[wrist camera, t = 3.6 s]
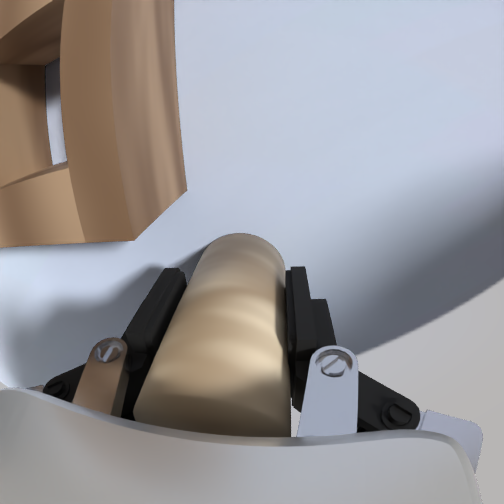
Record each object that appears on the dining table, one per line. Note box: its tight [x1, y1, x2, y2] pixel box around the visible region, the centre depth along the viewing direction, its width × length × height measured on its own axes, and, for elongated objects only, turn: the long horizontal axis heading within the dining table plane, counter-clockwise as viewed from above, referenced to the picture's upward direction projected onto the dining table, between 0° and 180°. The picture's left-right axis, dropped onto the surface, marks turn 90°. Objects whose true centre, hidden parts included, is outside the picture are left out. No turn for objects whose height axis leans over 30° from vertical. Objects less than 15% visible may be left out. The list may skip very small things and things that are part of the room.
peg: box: [133, 233, 291, 437], centre depth 9 cm, size 4×4×8 cm
